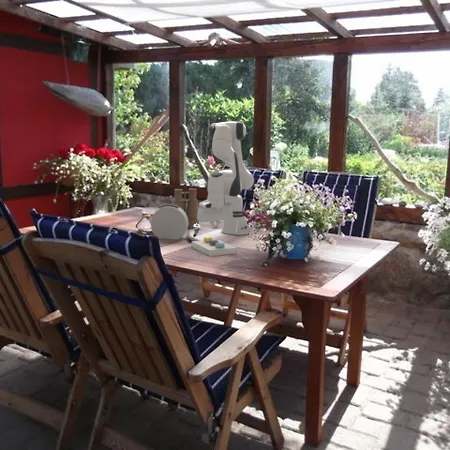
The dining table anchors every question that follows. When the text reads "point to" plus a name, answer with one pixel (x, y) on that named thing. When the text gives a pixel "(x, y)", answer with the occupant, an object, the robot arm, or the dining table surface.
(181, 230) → the grey round slab
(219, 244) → the button teal
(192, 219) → the binoculars
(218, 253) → the panel
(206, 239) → the button mustard
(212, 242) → the button charcoal
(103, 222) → the dining table surface
